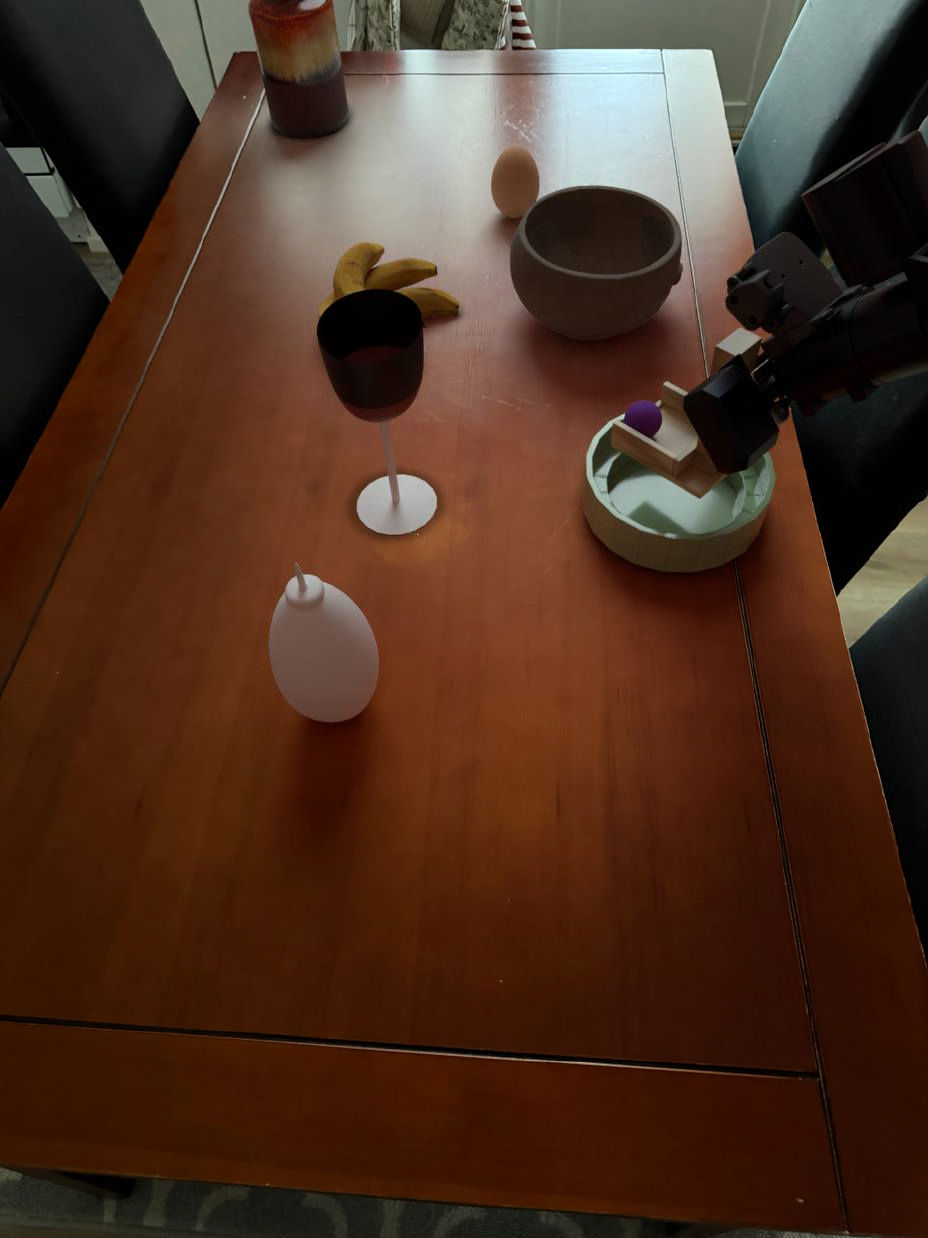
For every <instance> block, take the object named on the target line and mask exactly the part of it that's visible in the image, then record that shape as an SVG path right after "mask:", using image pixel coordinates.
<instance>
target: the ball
mask: <svg viewBox="0 0 928 1238" xmlns="http://www.w3.org/2000/svg"><path fill="white" fill-rule="evenodd" d="M624 413H625V416H624V424H626V425H627V426H629V427H631V428H633V429H634V430H636V431H638V432H639V433H641V434H643V435H645V436H646V437H648V438H650V437H652V436H654V435H655V434H656V433H657V432H658V431H659V429H660V427H661V425H662V413H661V411H660V409H659V408H658V407H657V406H656V405H655V403H654V402H652V401H650V400H639V401H636V402H634V403H632V404H631V405H630V406H628V408H627V409H626V411H625V412H624Z"/></svg>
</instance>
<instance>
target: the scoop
mask: <svg viewBox="0 0 928 1238" xmlns="http://www.w3.org/2000/svg"><path fill="white" fill-rule="evenodd" d="M762 342H763V337H762V336H759V335H757V334H756V333H753V332H752V331H749V330H746V329H745V328H744V327H740V326H739V327H738V328H736V330H734V331H733V332H731V333H730V334H728V336H726V337H725V338H724V339H722V340H721V341H720V342H719V343H717V344H716V345H714V346H715V347H714V351H713V355H712V361H711V367H710V370H709V371H710V372H709V377H710V376H712V375H714V374H715V373H717V371H718V370H719V369H720V368H721V367H722V366H723V365H725V364H726V363H727V362H728V361H730V360H731V359H732V358H733V357H735V356H736V355H737V354H738V353H740V355H741V357H742V358H743V360H744V362H745V364H746V366H747V368H748V370H749V372H750V373H751V372H752V371H754V370H755V367H756V363H757V358H758V355H760V349H761V345H760V344H761V343H762ZM688 393H689V392H688V391H686V390H685V389H682V388H680V387H679V386H678V385H677V386H676V385H675V384H673V383H671V382H670V381H667V380H666V381H665V382H664V383H662V386H661V393H660V399H659V400H657V401H656V402H655V403H654V404H655V405H656V406H657V407H658V408H659V409H660V411H661V413H662V425H661V427H660V429H659V431H658V432H657V433H656V434H655V435H654V436H652V437H650V438H648V437H646V436H645V435H643V434H641V433H639V432H638V431H636V430H634V429H633V428H631V427H629V426H627V425H626V424H624V423H622V422H621V421H619V420H616V421H614V422H613V425H612V437H611V446H612V447H614V448H616V449H617V450H619V451H621V452H622V453H624V454H626V455H627V456H629V457H631V458H632V459H634V460H636V461H637V462H639V463H641V464H642V465H644V466H646V467H647V468H649V469H651V470H652V471H654V472H656V473H657V474H659V475H661V476H662V477H664V478H666V479H667V480H669V481H670V482H672V483H674V484H675V485H677V486H679V487H680V488H682V489H684V490H685V491H687V492H689V493H690V494H692V495H694V496H695V497H697V498H699V499H701V498H702V497H703V496H704V495H705V494H707V493H708V492H709V491H710V490H711V489H712V488H713V487H715V486H716V485H717V484H718V483H719V482H720V481H722V480H723V479H724V478H725V477H726V476H727V475H726V474H723V473H719V472H718V471H717V469H716V467H715V465H714V464H713V462H712V460H711V458H710V456H709V455H708V453H707V451H706V449H705V447H704V446H703V444H702V442H701V440H700V438H699V437H698V435H697V433H696V431H695V429H694V428H693V426H692V424H691V422H690V420H689V419H688V417H687V415H686V413H685V411H684V410H683V400H684V396H685V395H687V394H688Z"/></svg>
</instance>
